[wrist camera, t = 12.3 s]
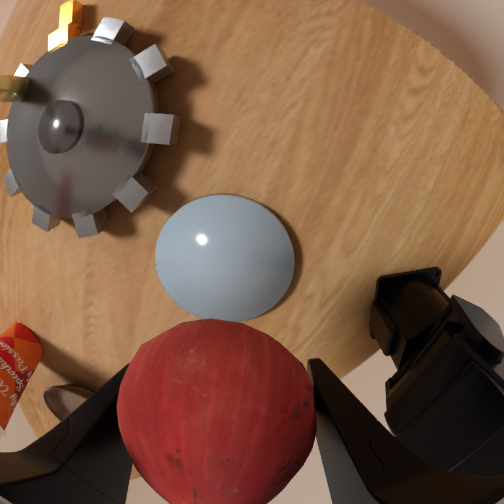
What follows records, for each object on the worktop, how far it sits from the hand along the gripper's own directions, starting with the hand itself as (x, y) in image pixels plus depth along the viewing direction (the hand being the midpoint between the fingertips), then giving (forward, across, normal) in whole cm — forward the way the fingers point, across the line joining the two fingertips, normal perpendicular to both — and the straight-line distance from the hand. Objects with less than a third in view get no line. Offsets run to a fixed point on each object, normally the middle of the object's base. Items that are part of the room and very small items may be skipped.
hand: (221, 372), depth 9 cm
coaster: (+12, +1, +2) cm, 12 cm away
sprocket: (+12, +10, -10) cm, 19 cm away
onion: (+2, 0, 0) cm, 2 cm away
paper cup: (+12, +28, +11) cm, 32 cm away
